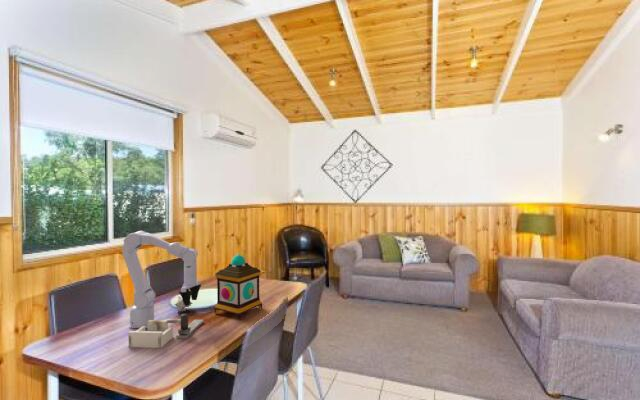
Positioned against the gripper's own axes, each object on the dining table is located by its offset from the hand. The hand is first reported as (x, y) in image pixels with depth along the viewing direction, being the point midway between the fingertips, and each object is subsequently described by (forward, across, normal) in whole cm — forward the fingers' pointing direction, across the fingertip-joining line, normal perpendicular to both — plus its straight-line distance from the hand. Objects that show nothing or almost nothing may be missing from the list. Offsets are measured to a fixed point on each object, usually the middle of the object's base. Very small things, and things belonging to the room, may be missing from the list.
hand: (190, 302), depth 150 cm
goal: (+9, -20, +7) cm, 23 cm away
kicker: (+9, -15, +2) cm, 18 cm away
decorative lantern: (+10, +14, -19) cm, 26 cm away
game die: (+10, +13, +10) cm, 19 cm away
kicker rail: (+9, -8, -4) cm, 13 cm away
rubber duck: (+10, -19, +7) cm, 23 cm away
